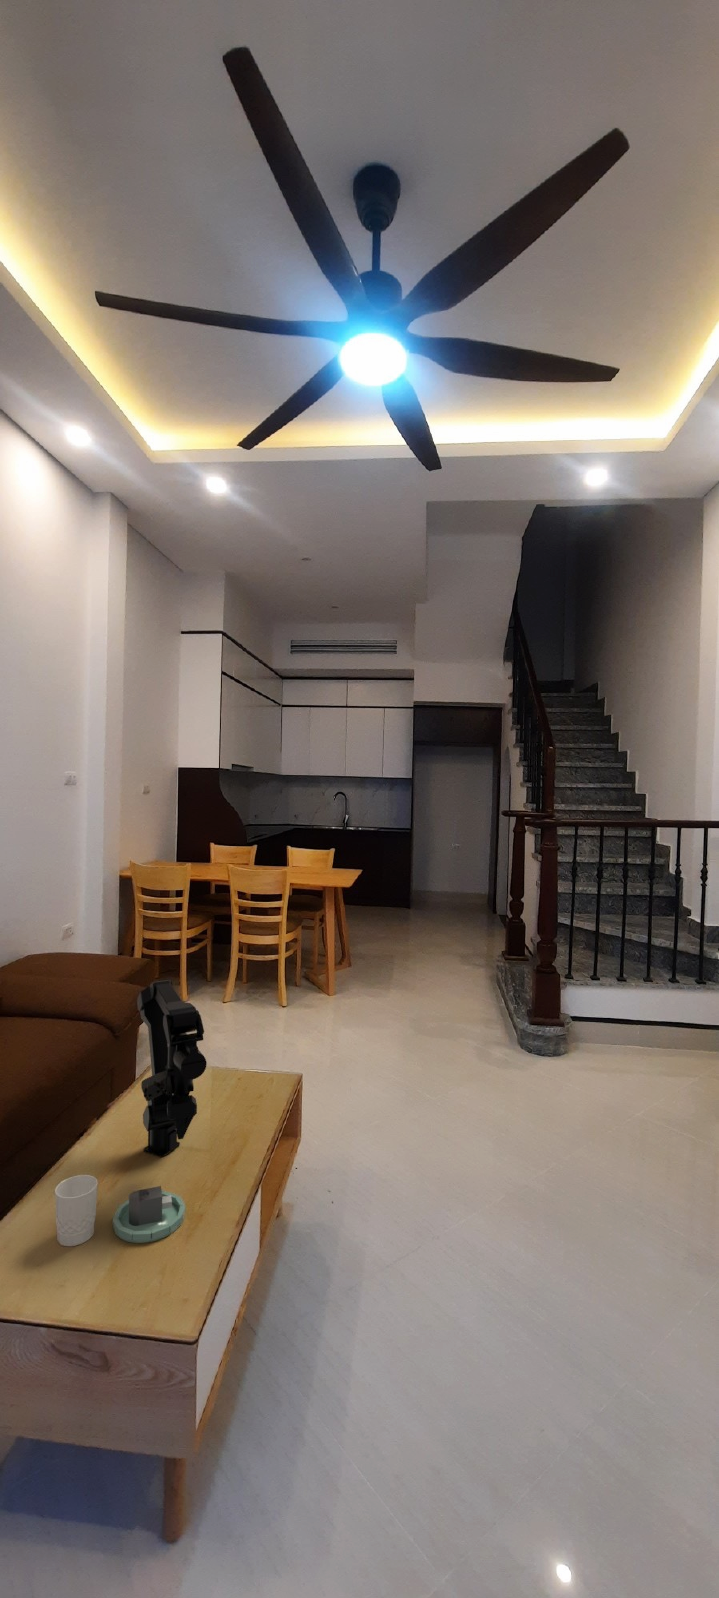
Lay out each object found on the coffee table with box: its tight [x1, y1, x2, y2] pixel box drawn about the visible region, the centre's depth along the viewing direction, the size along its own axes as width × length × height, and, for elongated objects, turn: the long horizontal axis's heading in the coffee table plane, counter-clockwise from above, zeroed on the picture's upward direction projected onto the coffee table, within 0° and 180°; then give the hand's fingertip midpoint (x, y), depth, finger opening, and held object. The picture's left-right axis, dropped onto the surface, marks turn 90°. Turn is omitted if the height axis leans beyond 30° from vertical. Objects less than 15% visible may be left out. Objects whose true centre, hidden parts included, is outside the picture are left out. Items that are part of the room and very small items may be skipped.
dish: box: [112, 1190, 186, 1244], centre depth 136 cm, size 14×14×2 cm
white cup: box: [54, 1174, 99, 1247], centre depth 131 cm, size 8×8×10 cm
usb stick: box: [128, 1185, 172, 1226], centre depth 136 cm, size 8×4×5 cm, turn 110°
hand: (179, 1128), depth 151 cm, fingers open, 9 cm apart
